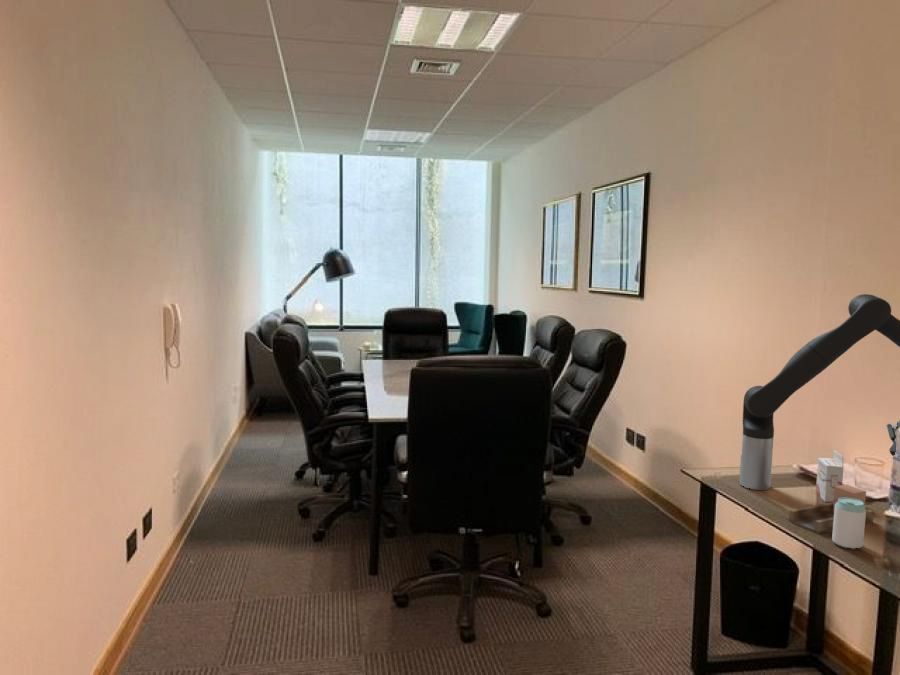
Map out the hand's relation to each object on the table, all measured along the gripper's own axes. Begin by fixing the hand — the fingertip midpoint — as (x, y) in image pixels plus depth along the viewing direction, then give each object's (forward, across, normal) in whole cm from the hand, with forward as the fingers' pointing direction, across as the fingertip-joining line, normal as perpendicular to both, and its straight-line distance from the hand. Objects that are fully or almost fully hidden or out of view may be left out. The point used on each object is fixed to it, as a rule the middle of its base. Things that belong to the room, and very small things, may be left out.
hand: (893, 454), depth 196 cm
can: (+37, +12, -12) cm, 40 cm away
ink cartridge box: (+18, -14, +7) cm, 24 cm away
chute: (+30, 0, -5) cm, 30 cm away
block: (+25, 0, 0) cm, 25 cm away
